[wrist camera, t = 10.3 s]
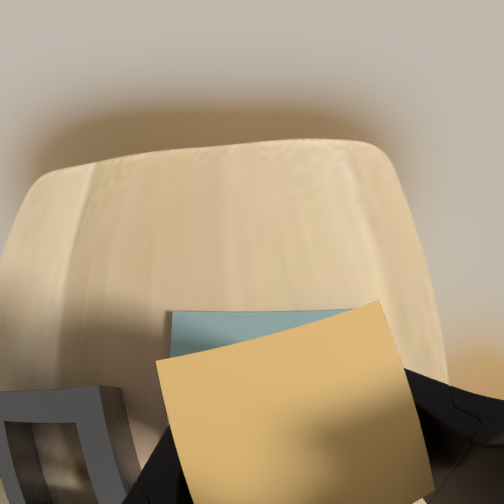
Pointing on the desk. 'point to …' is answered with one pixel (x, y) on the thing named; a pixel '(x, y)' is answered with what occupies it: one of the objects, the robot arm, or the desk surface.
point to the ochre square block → (299, 417)
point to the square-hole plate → (90, 435)
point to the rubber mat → (232, 328)
